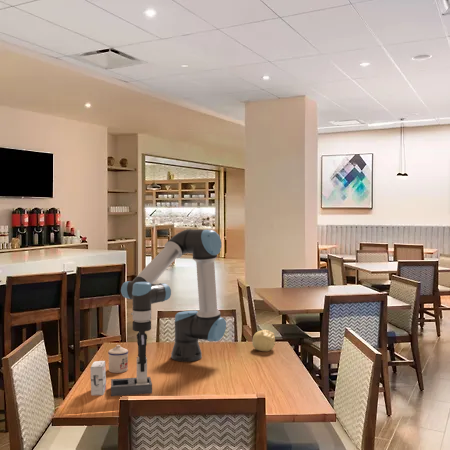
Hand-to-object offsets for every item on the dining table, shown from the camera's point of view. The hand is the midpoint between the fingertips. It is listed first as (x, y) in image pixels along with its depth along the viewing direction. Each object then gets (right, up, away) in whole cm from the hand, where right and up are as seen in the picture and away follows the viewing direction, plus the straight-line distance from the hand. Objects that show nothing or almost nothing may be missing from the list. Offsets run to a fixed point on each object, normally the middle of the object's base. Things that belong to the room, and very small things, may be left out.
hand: (141, 377), depth 215 cm
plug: (0, -4, 0) cm, 4 cm away
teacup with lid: (-15, -5, +29) cm, 33 cm away
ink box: (-17, -6, -2) cm, 18 cm away
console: (-4, -6, -1) cm, 7 cm away
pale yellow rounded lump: (+54, -4, +63) cm, 84 cm away
